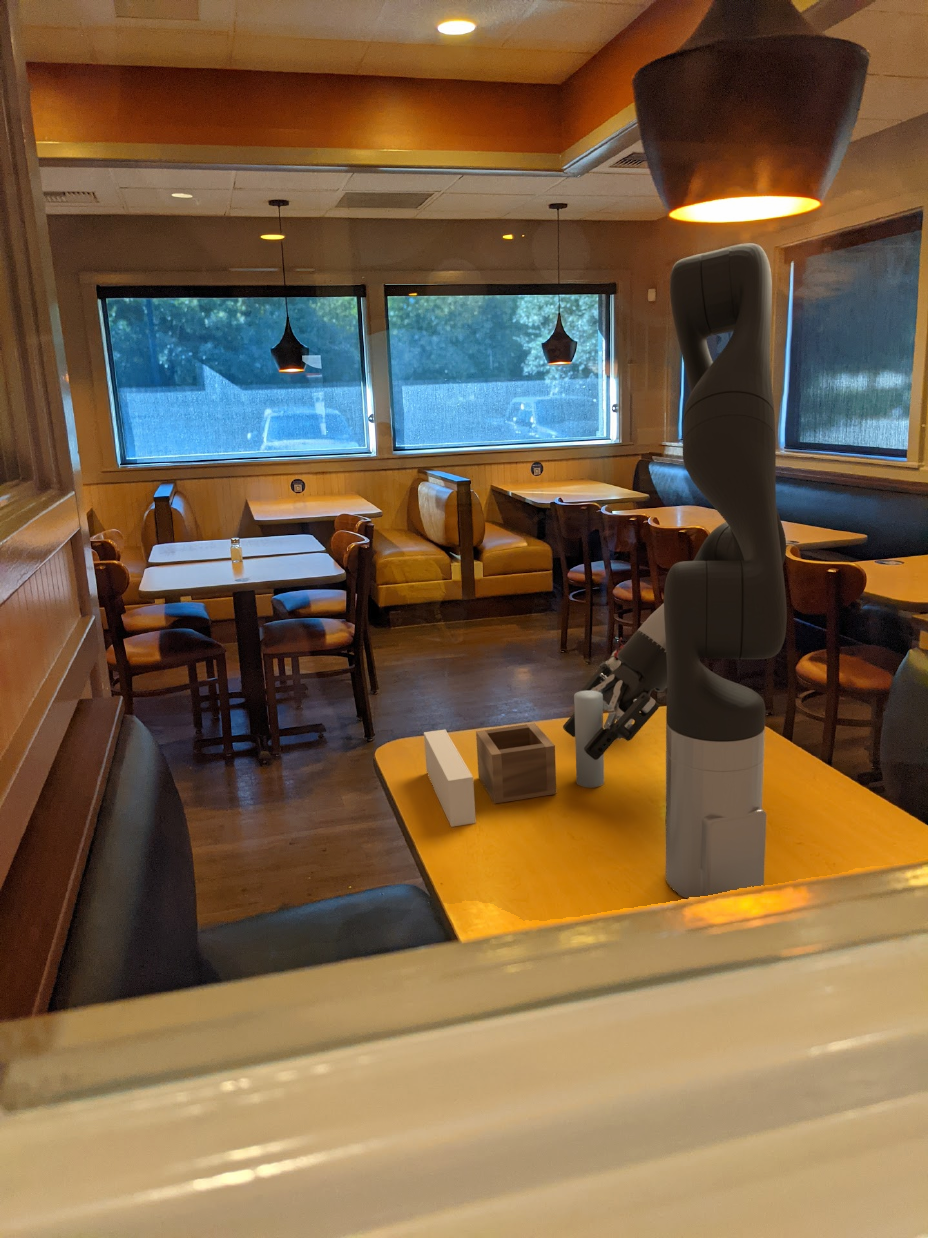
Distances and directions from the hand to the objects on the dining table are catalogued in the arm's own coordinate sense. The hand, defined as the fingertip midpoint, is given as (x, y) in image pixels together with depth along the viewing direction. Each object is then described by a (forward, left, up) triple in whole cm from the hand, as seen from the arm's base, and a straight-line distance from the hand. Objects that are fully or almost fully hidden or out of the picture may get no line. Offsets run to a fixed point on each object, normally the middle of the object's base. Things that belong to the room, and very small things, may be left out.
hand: (578, 743), depth 107 cm
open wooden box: (+2, +8, -5) cm, 10 cm away
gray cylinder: (0, -2, -6) cm, 6 cm away
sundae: (+15, -13, -6) cm, 20 cm away
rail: (+2, +17, -5) cm, 18 cm away
